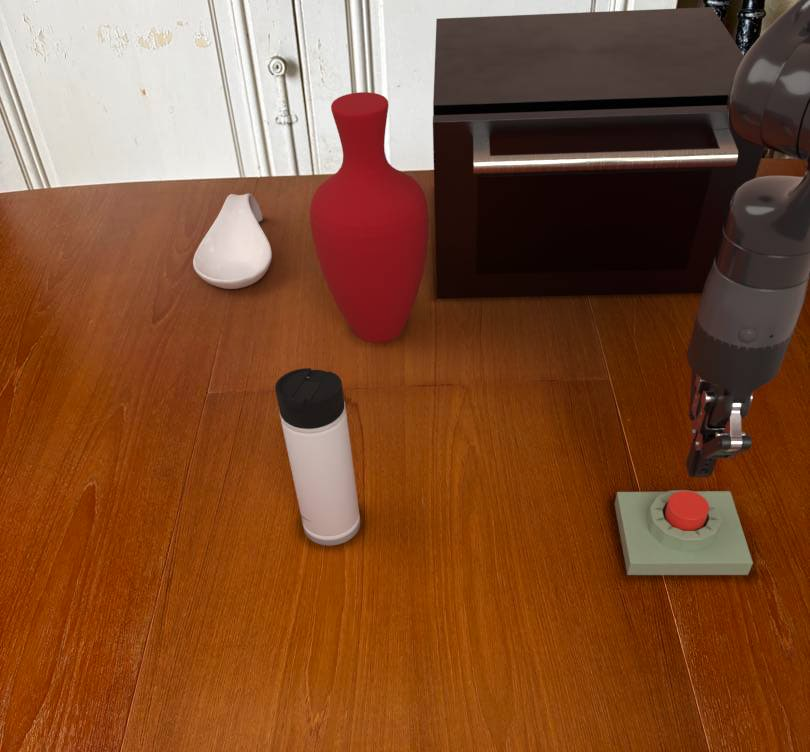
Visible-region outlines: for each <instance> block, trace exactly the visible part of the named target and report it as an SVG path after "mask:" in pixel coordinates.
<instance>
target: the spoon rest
mask: <svg viewBox="0 0 810 752" xmlns="http://www.w3.org/2000/svg"><path fill="white" fill-rule="evenodd" d="M263 220H264V219H263V214H262V211H261V207H260V206H259V204H258V202H257V200H256V198H255V197H254V195H253V194H252V193H249V192H247V193H245V194H234V193H230V194H229V195H227V196H226V199H225V201H224V203H223V205H222V208H221V209H220V211H219V213H218V215H217V216H216V218H215V220H214V222H213V223H212V225H211V227H210V228H209V230H208V231H207V232H206V234H205V235H204V237H203V239H202V240H201V242H200V243H199V245H198V247H197V249H196V251H195V253H194V256H193V259H192V266H193V270H194V271H195V273H196V274H197V275H198V276H199V278H201V279H202V280H203V281H205V282H206V283H208V284H210V285H211V286H214V287H217V288H221V289H226V290H227V289H228V290H236V289H237V290H238V289H243V288H246V287H248V286H252V285H253V284H255V283H257V282H259V281H260V280H261V279H262V278H263V277H264V276H265V274H266V273H267V272H268V270H269V268H270V265H271V262H272V258H273V252H272V251H273V250H272V247H271V243H270V242H269V239H268V237H267V236H266V234H265V232H264V230H263V228H262V227H261V225H260V222H262V221H263Z"/></svg>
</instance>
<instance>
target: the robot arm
mask: <svg viewBox="0 0 810 752" xmlns="http://www.w3.org/2000/svg"><path fill="white" fill-rule="evenodd" d="M727 115H728V120H729V123H730V126H731V128H732V130H733V131H734V132H735V133H736V134H737V135H738V136H739V137H740V138H742V139H744V140H745V141H748V142H750V143H753V144H756V145H758V146H761V147H764V149H768V150H771V151H773V152H777V153H780V154H783V155H786V156H789V157H792V158H794V159H797V160H800V161H804V162H806V163H807V166H806V169H805V173H804V175H803V176H793V175H764V176H757V177H755V178H754V179H751V180H749V181H747V182H745V183H744V184H742V185H741V186H740V187H739V188H738V189H737V190H736V192H735V193H734V195H733V197H732V199H731V201H730V204H729V207H728V210H727V214H726V218H725V221H724V225H723V229H722V232H721V236H720V240H719V244H718V248H717V252H716V255H715V259H714V262H713V265H712V268H711V270H710V272H709V274H708V277H707V279H706V282H705V285H704V288H703V292H702V293H701V296H700V300H699V303H698V308H697V312H696V316H695V320H694V324H693V327H692V331H691V335H690V339H689V343H688V346H687V350H686V360H687V364H688V366H689V368H690V369H691V375H690V377H691V378H690V394H689V412H688V417H689V420H690V421H693V423H692V427H691V430H690V434H691V437H692V441H691V445H690V448H689V451H688V455H687V459H686V461H685V467H686V470H687V471H686V472H687V475H688V477H690V478H710V477H711V476H712V475H713V472H714V470H715V466H716V463H717V460H718V459H732V458H734V457H736V456H738V455H741V454H742V453H745V452H747V451H749V450H751V448H752V444H753V439H752V435H750V434H746V432H745V431H742V429H743V427H742V421H743V419H744V418H746V417H747V415H748V414H749V413H750V412H749V411H750V409H751V408H750V407H751V405H752V403H753V398H754V395H753V392H755V391H756V390H758V389H759V388H761V387H763V386H765V385H766V384H769V383H770V382H771V381H773V379H774V378H776V377H777V375H778V373H779V372H780V370H781V366H782V364H783V361H784V358H785V355H786V352H787V350H788V347H789V344H790V342H791V339H792V336H793V334H794V331H795V328H796V325H797V323H798V320H799V317H800V314H801V311H802V309H803V306H804V304H805V299H806V296H807V292H808V286H809V282H810V281H809V280H810V0H797V1H796V2H794V3H793V4H792V5H791V6H790V7H789V8H787V10H785V11H784V12H783V13H782V14H781V15H779V16H778V17H777V18H776V19H775V20H774V21H773V23H771V24H770V25H769V26H768V27H767V28H766V29H765V30H764V31H763V32H762V33H761V34H760V35H759V37H758V38H757V39H756V40H755V42H753V44H752V45H751V46H750V48H749V49H748V50H747V52H746V54H745V55H744V58H743V60H742V62H741V63H740V65H739V67H738V69H737V71H736V73H735V75H734V78H733V80H732V83H731V86H730V90H729V94H728V101H727Z"/></svg>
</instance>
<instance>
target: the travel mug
mask: <svg viewBox="0 0 810 752" xmlns="http://www.w3.org/2000/svg"><path fill="white" fill-rule="evenodd" d="M274 390H275V395H276V401H277V404H278V405H277V406H278V411H279V417H280V421H281V422H280V423H281V427H282V432H283V437H284V442H285V446H286V451H287V455H288V460H289V465H290V470H291V474H292V480H293V483H294V485H293V486H294V490H295V494H296V498H297V504H298V509H299V513H300V517H301V523H302V528H303V532H304V534H305V536H307V538H308V539H309V540H310V541H312V542H313V543H315V544H318V545H321V546H327V547H328V546H338V545H341V544H344V543H346V542H348V541H350V540H351V539H352V538H354V537H355V536H356V534H357V533H358V532H359V530H360V527H361V515H360V508H359V507H360V506H359V499H358V492H357V485H356V484H357V483H356V476H355V469H354V460H353V454H352V446H351V445H352V444H351V438H350V431H349V423H348V415H347V407H346V402H345V397H344V389H343V381H342V379H341V377H340V376H339V375H338V374H337V373H335V372H332V371H330V370H328V371H327V370H324V369H323V370H322V369H312V368H311V367H307V368H305V367H303V368H298V369H294V370H291V371H289V372H287V373H284V374H282V376H280V377H279V378H278V380H277V381H276V383H275V386H274Z"/></svg>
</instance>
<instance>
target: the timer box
mask: <svg viewBox="0 0 810 752" xmlns="http://www.w3.org/2000/svg"><path fill="white" fill-rule="evenodd" d="M680 491H690V492H694V493H697V494H699V495H701V496H702V497H704V498H705V499H706V501H707V502H708V504H709V512H708V515H707V518H706V521H705V523H704V525H703V526H702V527H701V528H699V529H697V530H693V531H684V530H680V529H678V528H675V527H673V526H672V525H671V524H670V523H669V522H668V521H667V519H666V517H665V511H666V507H667V504H668V500H669V498H670V497H671V496H672V495H673V494H674V493H677V492H680ZM614 508H615V516H616V520H617V526H618V531H619V537H620V543H621V547H622V554H623V558H624V564H625V570H626V575H628V576H749V573H750V570H751V569H752V567H753V564H754V562H753V559H752V555H751V552H750V549H749V546H748V542H747V540H746V536H745V534H744V530H743V527H742V524H741V521H740V517H739V513H738V511H737V508H736V504H735V501H734V497H733V496H732V492H731V491H730V490H723V491H722V490H720V491H719V490H716V491H715V490H712V491H711V490H709V491H707V490H706V491H705V490H703V491H702V490H701V491H700V490H699V491H696V490H695V491H693V490H689V489H677V490H675V489H673V490H668V491H616V495H615V500H614Z"/></svg>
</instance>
